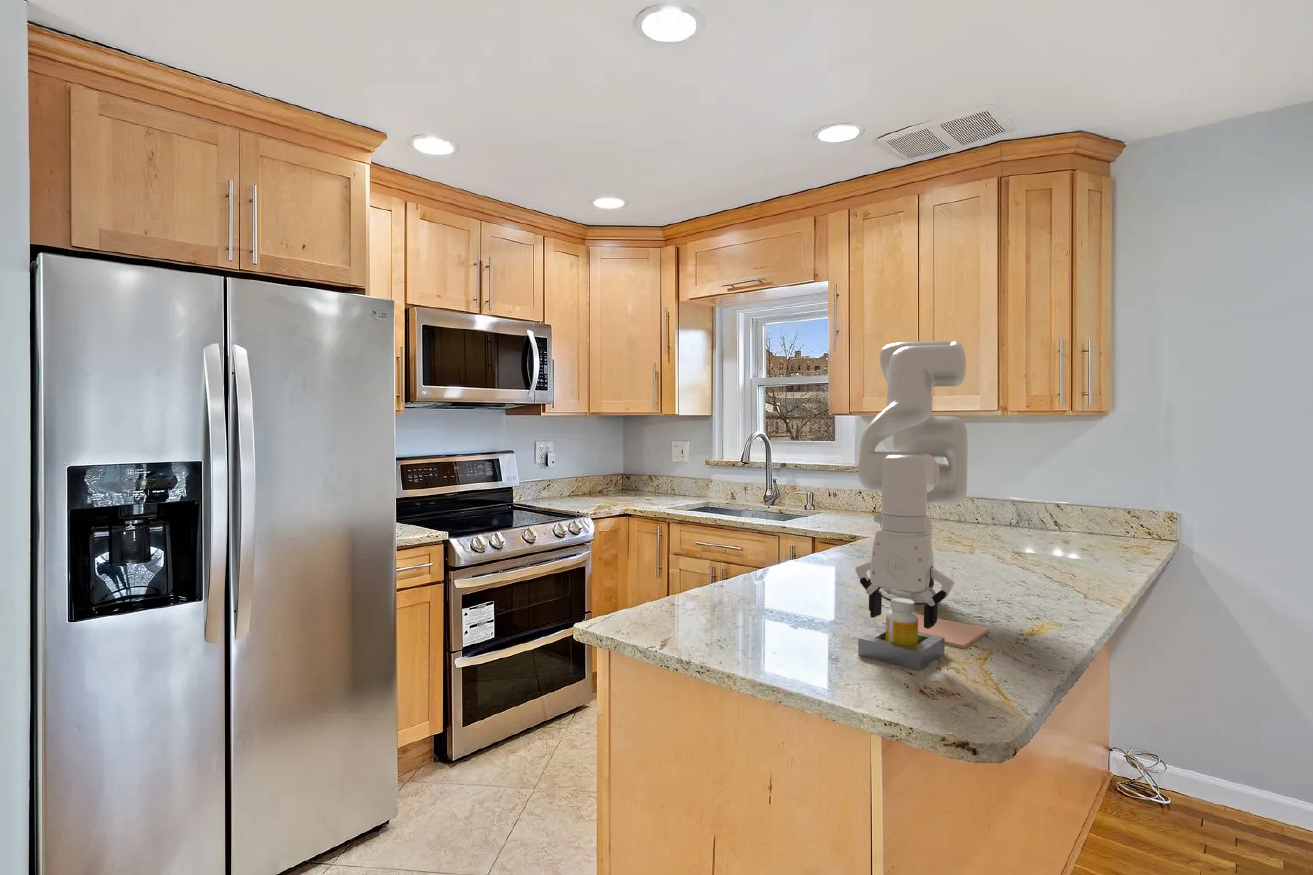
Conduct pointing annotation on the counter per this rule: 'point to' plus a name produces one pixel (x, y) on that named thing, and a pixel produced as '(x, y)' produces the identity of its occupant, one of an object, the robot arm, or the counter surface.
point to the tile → (953, 631)
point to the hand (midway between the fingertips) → (901, 621)
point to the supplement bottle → (902, 622)
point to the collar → (901, 649)
